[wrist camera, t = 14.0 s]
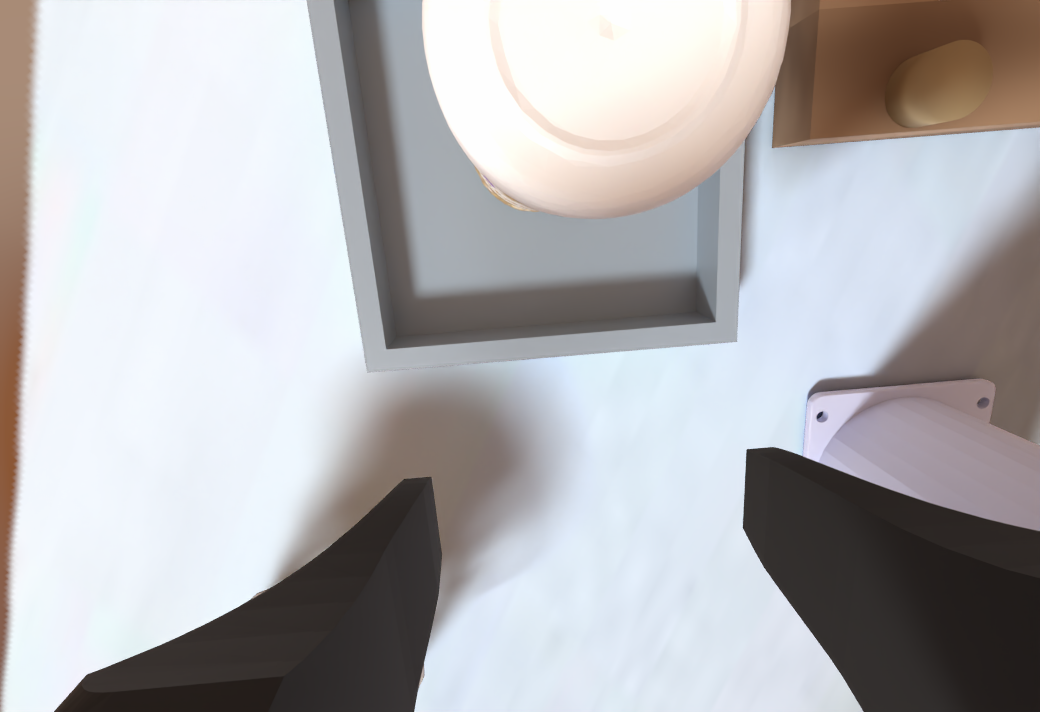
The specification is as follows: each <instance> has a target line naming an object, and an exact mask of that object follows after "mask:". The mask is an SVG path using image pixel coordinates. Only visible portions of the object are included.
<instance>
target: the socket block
mask: <svg viewBox="0 0 1040 712" xmlns="http://www.w3.org/2000/svg"><path fill="white" fill-rule="evenodd" d="M1037 127H1040V0H940V1H938V0H791V15H790V23H789V31H788V37H787V42H786V48H785V53H784V58H783V62H782V64H781V66H780V70H779V74H778V78H777V81H776V85H775V103H774V122H773V141H772V148H778V147H791V146H804V145H817V144H830V143H843V142H856V141H869V140H881V139H894V138H907V137H920V136H933V135H946V134H959V133H972V132H985V131H998V130H1011V129H1024V128H1037Z"/></svg>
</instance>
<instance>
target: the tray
mask: <svg viewBox="0 0 1040 712" xmlns="http://www.w3.org/2000/svg"><path fill="white" fill-rule="evenodd" d="M307 6H308V12H309V18H310V24H311V30H312V36H313V42H314V49H315V55H316V61H317V67H318V73H319V79H320V85H321V91H322V98H323V104H324V110H325V116H326V122H327V128H328V134H329V140H330V147H331V153H332V159H333V165H334V171H335V177H336V183H337V190H338V196H339V202H340V208H341V214H342V220H343V226H344V232H345V239H346V245H347V251H348V257H349V263H350V269H351V275H352V281H353V288H354V294H355V300H356V306H357V312H358V318H359V324H360V330H361V337H362V343H363V349H364V355H365V361H366V367H367V373H368V372H380V371H392V370H404V369H416V368H428V367H440V366H452V365H464V364H476V363H488V362H500V361H512V360H524V359H536V358H548V357H560V356H572V355H584V354H596V353H608V352H620V351H632V350H644V349H656V348H668V347H680V346H692V345H704V344H716V343H728V342H737V327H738V302H739V277H740V252H741V227H742V202H743V177H744V151H745V140H744V142H743V143H742V144H741V145H740V147H739V148H738V149H737V150H736V152H735V153H734V154H733V155H732V156H731V157H730V158H729V159H728V160H727V162H726V163H725V164H724V165H723V166H721V167H720V168H719V169H718V170H717V171H716V172H715V173H714V174H713V175H712V176H710V177H709V178H708V179H706V180H705V181H704V182H702V183H701V184H700V185H698V186H697V187H695V188H694V189H692V190H691V191H689V192H688V193H686V194H685V195H683V196H681V197H679V198H677V199H676V200H674V201H672V202H669V203H667V204H665V205H662V206H660V207H657V208H654V209H651V210H648V211H645V212H642V213H638V214H634V215H629V216H624V217H617V218H607V219H580V218H568V217H562V216H557V215H552V214H548V213H545V212H541V211H539V212H531V211H521V210H517V209H514V208H512V207H510V206H508V205H506V204H504V203H503V202H501V201H500V200H498V199H497V198H496V197H495V196H494V195H492V194H491V193H490V192H489V190H488V189H487V188H486V187H485V185H484V184H483V183H482V181H481V178H480V177H479V175H478V173H477V171H476V169H475V166H474V164H473V163H472V162H471V161H470V159H469V158H468V157H467V155H466V154H465V152H464V151H463V149H462V148H461V146H460V145H459V143H458V142H457V140H456V139H455V137H454V135H453V133H452V132H451V130H450V128H449V126H448V124H447V121H446V119H445V117H444V115H443V112H442V110H441V108H440V105H439V102H438V100H437V97H436V94H435V91H434V88H433V84H432V81H431V78H430V74H429V70H428V65H427V60H426V55H425V50H424V41H423V31H422V0H307Z"/></svg>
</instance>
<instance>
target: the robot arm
mask: <svg viewBox="0 0 1040 712" xmlns="http://www.w3.org/2000/svg"><path fill="white" fill-rule="evenodd" d="M995 392H996V387H995V385H994V383H992V382H991V381H988V380H986V379H968V380H956V381H945V382H933V383H921V384H909V385H898V386H886V387H874V388H862V389H851V390H839V391H827V392H818V393H815V394H813V395H812V396H811V397H810V398H809V400H808V403H807V411H806V424H805V436H804V448H803V456H800V455H798V454H795V453H792V452H789V451H786V450H782V449H779V448H775V447H769V448H758V449H747V453H746V474H745V495H744V516H743V529H744V531H745V533H746V535H747V537H748V539H749V541H750V543H751V545H752V547H753V548H754V550H755V552H756V554H757V556H758V557H759V559H760V561H761V563H762V565H763V566H764V568H765V569H766V571H767V572H768V573H769V575H770V576H771V578H772V579H773V581H774V582H775V583H776V585H777V586H778V587H779V589H780V590H781V592H782V593H783V594H784V596H785V597H786V599H787V600H788V601H789V603H790V604H791V605H792V607H793V608H794V609H795V611H796V612H797V613H798V615H799V616H800V617H801V619H802V620H803V622H804V623H805V624H806V626H807V627H808V628H809V630H810V631H811V632H812V634H813V635H814V637H815V638H816V639H817V641H818V642H819V643H820V645H821V646H822V647H823V649H824V650H825V651H826V653H827V654H828V656H829V657H830V659H831V660H832V662H833V663H834V664H835V666H836V667H837V669H838V670H839V672H840V673H841V675H842V676H843V678H844V680H845V681H846V683H847V685H848V686H849V688H850V690H851V691H852V693H853V695H854V696H855V698H856V700H857V701H858V703H859V705H860V706H861V708H862V710H863V711H864V712H1040V445H1038V444H1035V443H1033V442H1031V441H1028V440H1026V439H1024V438H1021V437H1019V436H1017V435H1015V434H1012V433H1010V432H1008V431H1005V430H1003V429H1001V428H998V427H996V426H994V425H992V424H990V419H991V413H992V408H993V402H994V397H995ZM980 399H981V401H980V403H978V401H979V400H980ZM977 403H978V404H977ZM822 411H823V414H822V416H821V417H820V418H818V419H816V417H817V414H818V413H819V412H822ZM441 559H442V552H441V545H440V538H439V530H438V523H437V516H436V508H435V501H434V493H433V486H432V479H431V477H424V478H412V479H404V480H403V481H402V482H400V483H399V484H398V485H397V486H396V487H395V488H394V489H393V490H392V491H391V492H390V493H389V494H388V495H387V496H386V497H385V498H384V499H383V500H382V501H381V502H380V503H378V504H377V505H376V506H375V507H374V508H373V509H372V510H371V511H370V512H369V513H368V514H367V515H366V516H365V517H364V518H363V519H361V520H360V521H359V522H358V523H357V524H356V525H355V526H354V527H352V528H351V529H350V530H349V531H348V532H346V533H345V534H344V535H343V536H342V537H341V538H339V539H338V540H337V541H336V542H335V543H333V544H332V545H331V546H330V547H329V548H328V549H326V550H325V551H324V552H322V553H321V554H320V555H319V556H317V557H316V558H315V559H313V560H312V561H310V562H309V563H308V564H306V565H305V566H303V567H302V568H301V569H299V570H298V571H296V572H295V573H293V574H292V575H290V576H289V577H287V578H286V579H284V580H283V581H281V582H280V583H278V584H277V585H275V586H273V587H271V588H270V589H268V590H266V591H265V592H263V593H261V594H260V595H258V596H256V597H254V598H253V599H251V600H249V601H248V602H246V603H244V604H243V605H241V606H239V607H238V608H236V609H234V610H232V611H230V612H228V613H226V614H224V615H222V616H221V617H219V618H217V619H215V620H213V621H211V622H209V623H207V624H205V625H203V626H201V627H199V628H197V629H194V630H192V631H190V632H188V633H186V634H184V635H182V636H180V637H178V638H175V639H173V640H171V641H169V642H166V643H164V644H162V645H160V646H157V647H155V648H152V649H150V650H147V651H145V652H143V653H140V654H138V655H135V656H133V657H130V658H128V659H125V660H123V661H121V662H118V663H116V664H113V665H111V666H108V667H106V668H103V669H101V670H98V671H95V672H93V673H90V674H87V675H86V676H85V677H84V679H83V680H82V681H81V682H80V683H79V684H78V685H77V686H76V688H75V689H74V690H73V691H72V692H71V693H70V694H69V695H68V697H67V698H66V699H65V700H64V701H63V702H62V703H61V704H60V706H59V707H58V708H57V709H56V710H55V711H54V712H414V709H415V703H416V697H417V692H418V688H419V683H420V678H421V674H422V669H423V665H424V660H425V656H426V651H427V646H428V642H429V637H430V633H431V628H432V623H433V619H434V614H435V609H436V605H437V600H438V594H439V583H440V572H441Z"/></svg>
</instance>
